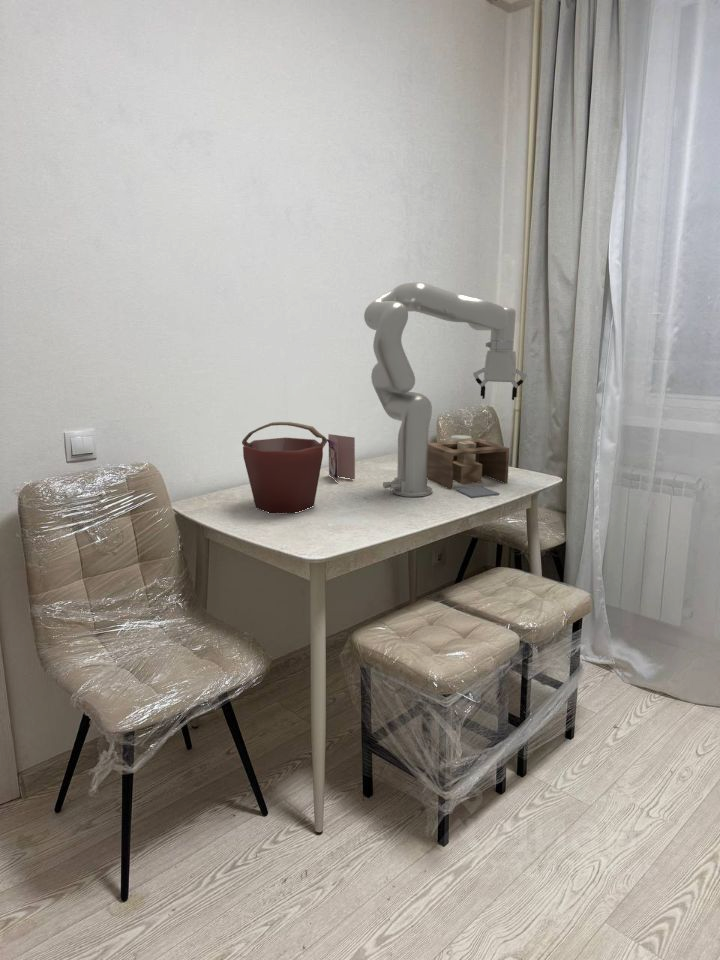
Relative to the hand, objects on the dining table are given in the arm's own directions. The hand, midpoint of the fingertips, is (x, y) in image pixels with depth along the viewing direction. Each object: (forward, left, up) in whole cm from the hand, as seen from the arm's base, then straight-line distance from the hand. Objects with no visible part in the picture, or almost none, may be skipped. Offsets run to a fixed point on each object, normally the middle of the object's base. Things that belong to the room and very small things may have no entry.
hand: (498, 399), depth 221 cm
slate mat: (-14, -12, -28) cm, 34 cm away
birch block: (-9, +4, -22) cm, 24 cm away
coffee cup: (-2, +20, -28) cm, 34 cm away
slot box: (-9, +4, -28) cm, 30 cm away
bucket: (-75, -5, -28) cm, 80 cm away
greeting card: (-48, +21, -28) cm, 59 cm away
